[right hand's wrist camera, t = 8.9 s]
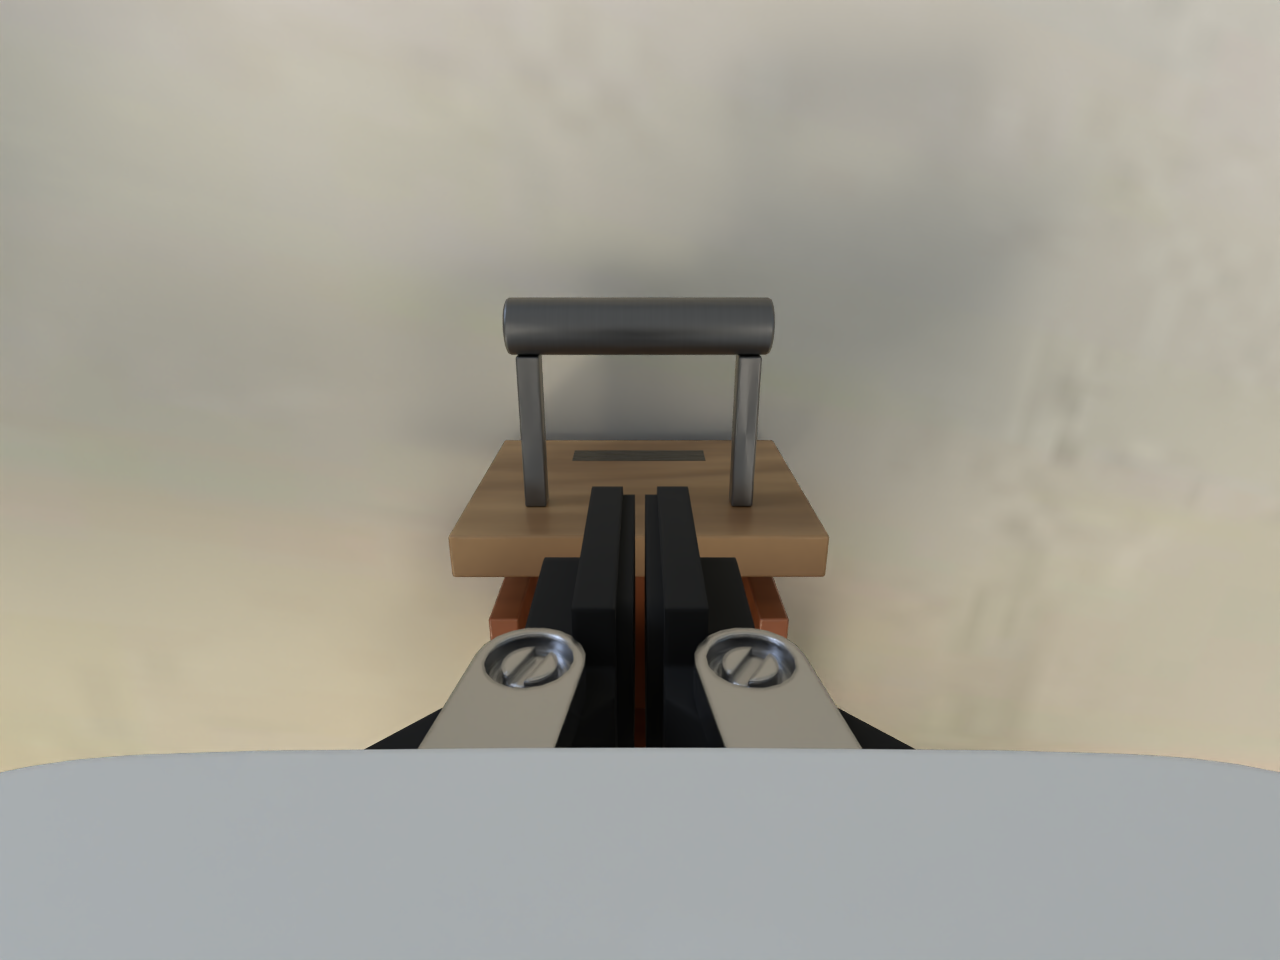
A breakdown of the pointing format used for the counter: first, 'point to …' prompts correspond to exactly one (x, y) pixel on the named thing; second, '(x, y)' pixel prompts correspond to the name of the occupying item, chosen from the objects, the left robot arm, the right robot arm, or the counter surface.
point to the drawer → (638, 463)
